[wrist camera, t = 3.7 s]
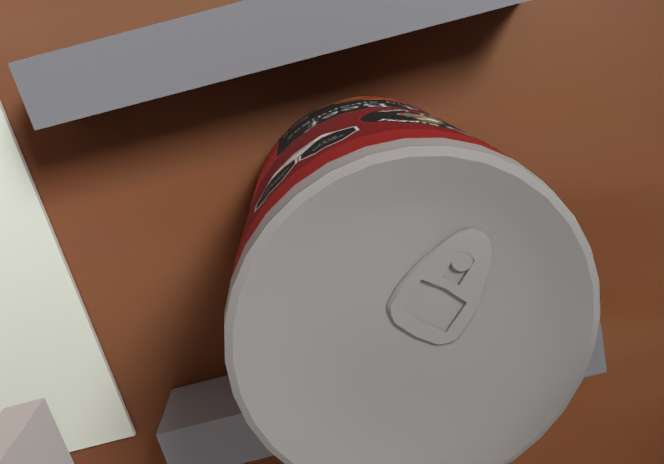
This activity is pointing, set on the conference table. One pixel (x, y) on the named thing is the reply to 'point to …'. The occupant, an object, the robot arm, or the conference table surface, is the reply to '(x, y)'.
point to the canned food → (404, 295)
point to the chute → (124, 90)
